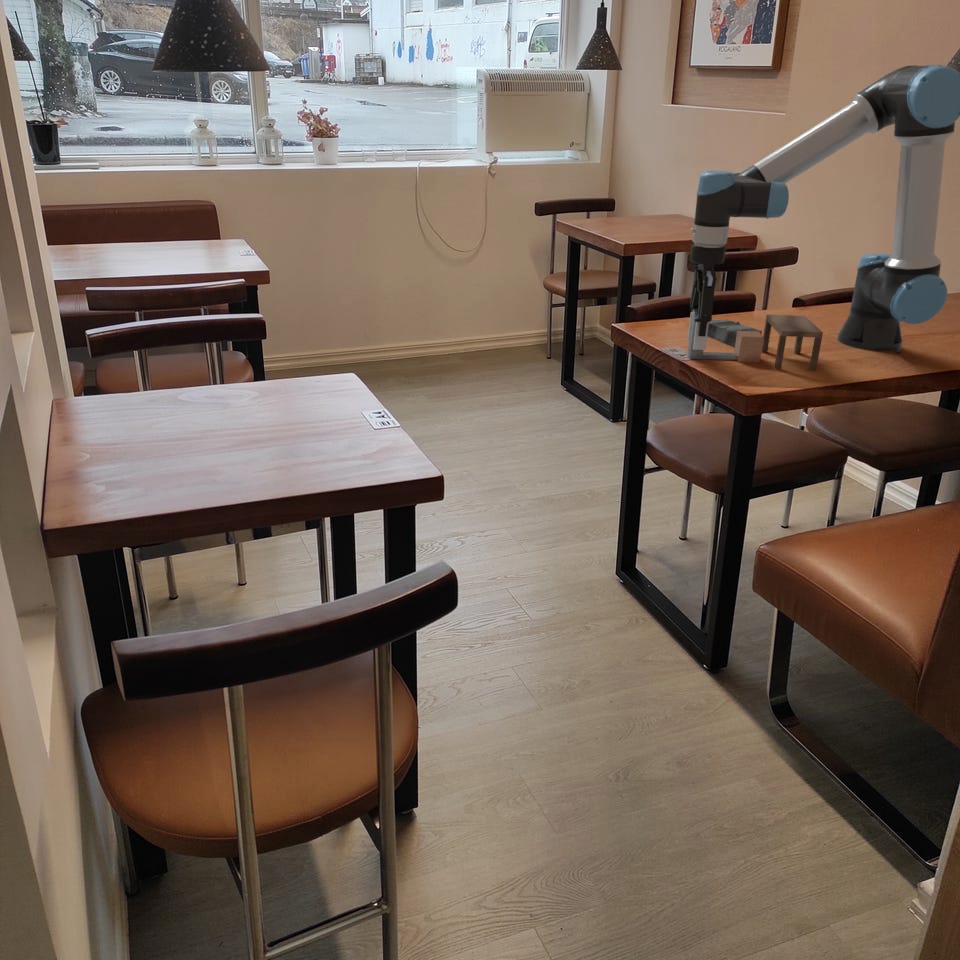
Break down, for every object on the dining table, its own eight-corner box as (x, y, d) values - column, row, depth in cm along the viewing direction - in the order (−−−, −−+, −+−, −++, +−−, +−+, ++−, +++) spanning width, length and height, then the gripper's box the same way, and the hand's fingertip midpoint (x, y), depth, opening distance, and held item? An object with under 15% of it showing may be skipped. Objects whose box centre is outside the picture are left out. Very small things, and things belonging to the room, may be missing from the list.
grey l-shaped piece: (755, 356, 213) (762, 310, 208) (759, 362, 208) (767, 315, 204) (686, 353, 214) (692, 308, 209) (690, 360, 209) (695, 313, 204)
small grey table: (797, 357, 217) (805, 315, 213) (814, 376, 204) (823, 332, 200) (760, 356, 218) (766, 314, 213) (774, 374, 204) (781, 330, 200)
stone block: (727, 336, 235) (730, 316, 233) (764, 351, 223) (767, 330, 221) (699, 339, 232) (702, 319, 229) (734, 354, 220) (737, 333, 217)
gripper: (684, 236, 210) (674, 332, 219) (699, 252, 191) (686, 356, 201) (717, 237, 209) (705, 333, 219) (734, 253, 191) (720, 357, 201)
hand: (696, 344), depth 210 cm, fingers open, 7 cm apart
